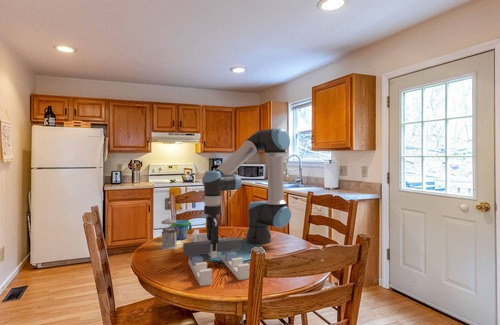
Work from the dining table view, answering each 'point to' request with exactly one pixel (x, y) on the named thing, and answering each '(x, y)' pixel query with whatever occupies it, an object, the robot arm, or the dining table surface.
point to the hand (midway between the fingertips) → (212, 256)
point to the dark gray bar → (205, 246)
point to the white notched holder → (205, 274)
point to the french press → (169, 235)
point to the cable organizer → (198, 237)
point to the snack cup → (181, 228)
